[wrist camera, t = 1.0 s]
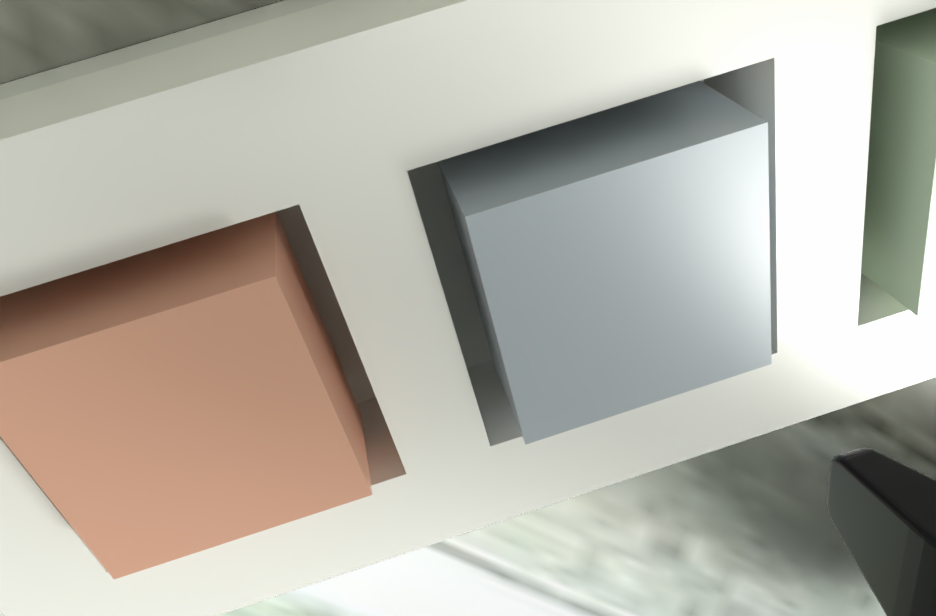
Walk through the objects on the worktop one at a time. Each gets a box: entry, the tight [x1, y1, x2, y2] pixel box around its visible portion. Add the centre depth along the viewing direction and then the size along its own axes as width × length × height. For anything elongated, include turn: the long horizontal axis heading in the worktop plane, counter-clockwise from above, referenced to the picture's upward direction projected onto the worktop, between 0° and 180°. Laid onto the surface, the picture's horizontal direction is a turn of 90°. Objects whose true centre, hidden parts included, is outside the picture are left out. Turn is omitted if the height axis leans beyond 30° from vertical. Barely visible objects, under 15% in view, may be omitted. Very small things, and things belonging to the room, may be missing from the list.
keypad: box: [0, 0, 936, 616], centre depth 18 cm, size 12×30×4 cm, turn 103°
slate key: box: [438, 81, 772, 444], centre depth 16 cm, size 6×6×3 cm
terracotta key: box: [0, 212, 372, 579], centre depth 16 cm, size 6×6×3 cm
